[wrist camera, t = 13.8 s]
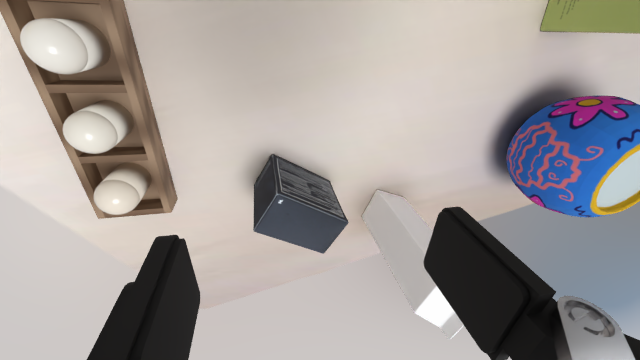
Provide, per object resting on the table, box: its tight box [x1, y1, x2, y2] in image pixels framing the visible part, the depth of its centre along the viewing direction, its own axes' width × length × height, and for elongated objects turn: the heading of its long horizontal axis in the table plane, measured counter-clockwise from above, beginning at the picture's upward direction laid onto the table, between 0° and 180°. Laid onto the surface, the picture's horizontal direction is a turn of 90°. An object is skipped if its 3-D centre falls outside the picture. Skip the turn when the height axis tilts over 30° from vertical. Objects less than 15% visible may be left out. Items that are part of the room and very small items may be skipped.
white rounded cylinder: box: [20, 18, 111, 74], centre depth 24 cm, size 4×4×7 cm
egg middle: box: [63, 100, 134, 154], centre depth 28 cm, size 4×4×7 cm
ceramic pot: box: [507, 96, 640, 217], centre depth 40 cm, size 18×18×15 cm
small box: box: [253, 154, 348, 253], centre depth 37 cm, size 11×6×10 cm, turn 57°
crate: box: [0, 0, 177, 219], centre depth 30 cm, size 24×9×3 cm, turn 178°
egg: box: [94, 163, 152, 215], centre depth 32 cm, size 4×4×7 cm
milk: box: [362, 190, 464, 339], centre depth 38 cm, size 6×6×22 cm
